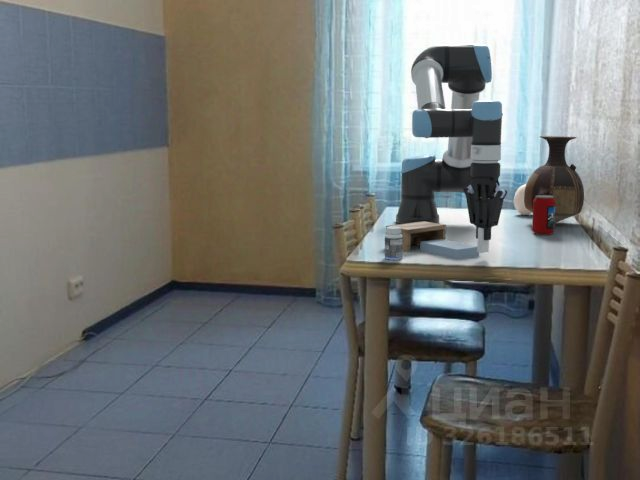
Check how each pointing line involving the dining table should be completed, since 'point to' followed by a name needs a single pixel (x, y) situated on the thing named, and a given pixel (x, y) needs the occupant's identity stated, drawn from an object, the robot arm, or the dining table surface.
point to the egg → (521, 201)
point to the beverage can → (543, 215)
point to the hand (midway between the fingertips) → (483, 251)
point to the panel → (449, 248)
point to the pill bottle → (393, 243)
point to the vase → (556, 181)
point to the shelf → (420, 233)
